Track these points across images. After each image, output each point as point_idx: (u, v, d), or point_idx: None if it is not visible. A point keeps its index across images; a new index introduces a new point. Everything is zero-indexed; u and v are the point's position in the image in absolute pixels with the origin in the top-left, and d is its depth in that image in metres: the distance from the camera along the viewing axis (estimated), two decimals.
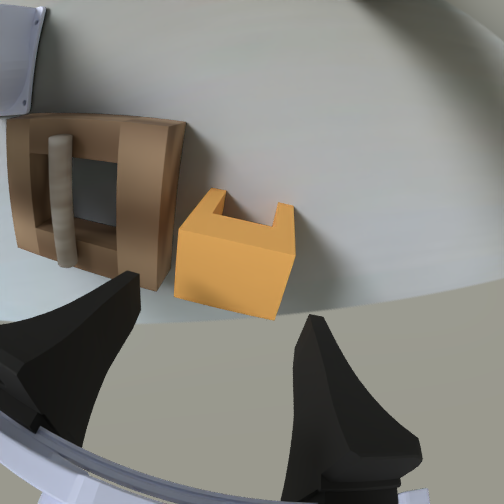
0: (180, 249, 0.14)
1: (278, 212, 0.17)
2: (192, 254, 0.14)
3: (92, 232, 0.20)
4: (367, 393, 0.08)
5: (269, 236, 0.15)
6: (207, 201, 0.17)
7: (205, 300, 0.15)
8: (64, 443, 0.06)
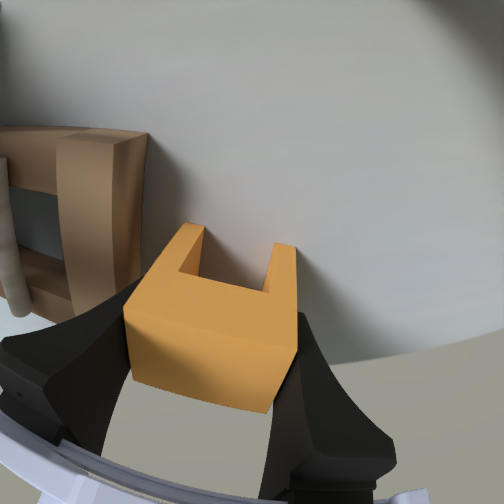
0: (130, 331, 0.09)
1: (274, 262, 0.13)
2: (147, 339, 0.09)
3: (48, 273, 0.15)
4: (342, 391, 0.08)
5: (259, 313, 0.10)
6: (174, 249, 0.12)
7: (173, 389, 0.10)
8: (64, 443, 0.06)
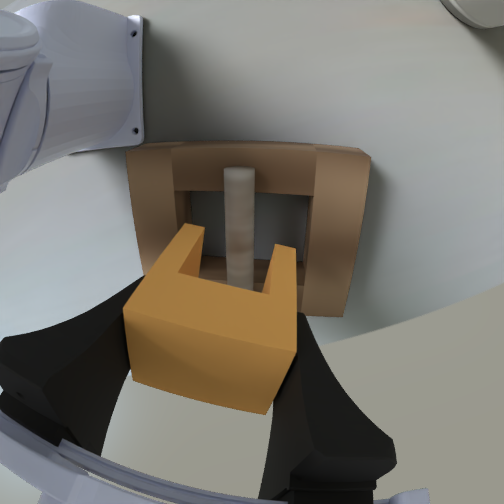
0: (130, 332, 0.09)
1: (274, 263, 0.13)
2: (146, 339, 0.09)
3: (260, 270, 0.21)
4: (342, 391, 0.08)
5: (259, 314, 0.10)
6: (174, 250, 0.12)
7: (173, 390, 0.10)
8: (64, 443, 0.06)
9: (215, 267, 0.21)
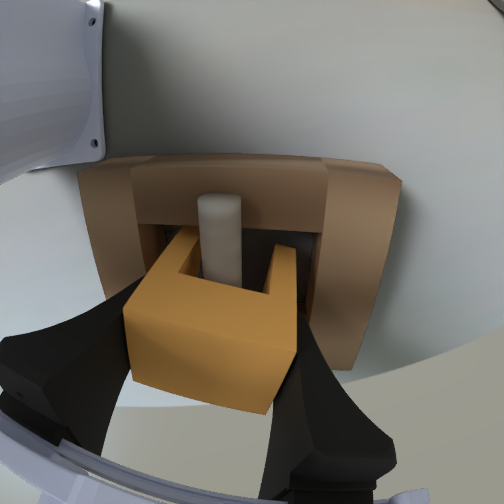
0: (130, 332, 0.09)
1: (274, 263, 0.13)
2: (146, 340, 0.09)
3: None
4: (342, 391, 0.08)
5: (259, 314, 0.10)
6: (174, 250, 0.12)
7: (173, 390, 0.10)
8: (64, 443, 0.06)
9: None
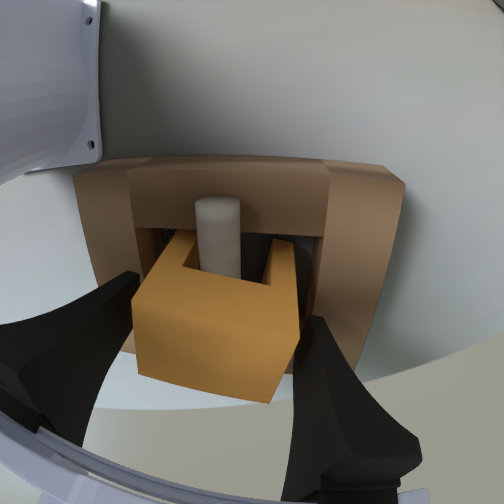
0: (137, 325, 0.09)
1: (273, 256, 0.13)
2: (154, 331, 0.09)
3: None
4: (367, 393, 0.08)
5: (262, 304, 0.10)
6: (176, 245, 0.12)
7: (178, 381, 0.11)
8: (64, 443, 0.06)
9: None
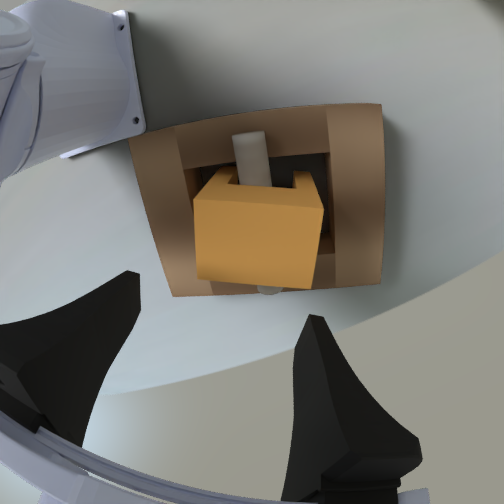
0: (198, 222, 0.13)
1: (296, 177, 0.16)
2: (211, 225, 0.13)
3: None
4: (367, 393, 0.08)
5: (292, 196, 0.13)
6: (219, 176, 0.16)
7: (233, 277, 0.14)
8: (64, 443, 0.06)
9: None
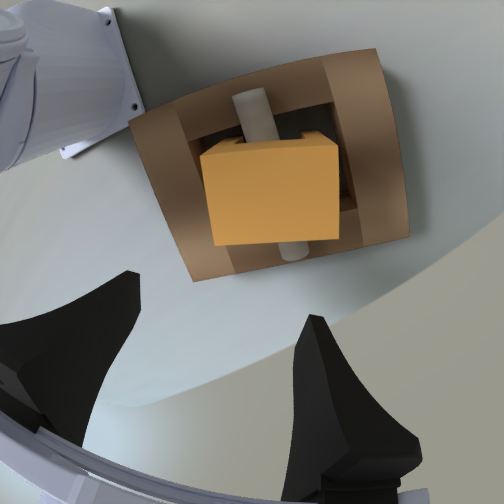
0: (207, 180, 0.12)
1: (303, 134, 0.15)
2: (222, 181, 0.12)
3: None
4: (367, 393, 0.08)
5: (302, 142, 0.12)
6: (225, 141, 0.15)
7: (252, 237, 0.13)
8: (64, 443, 0.06)
9: None
